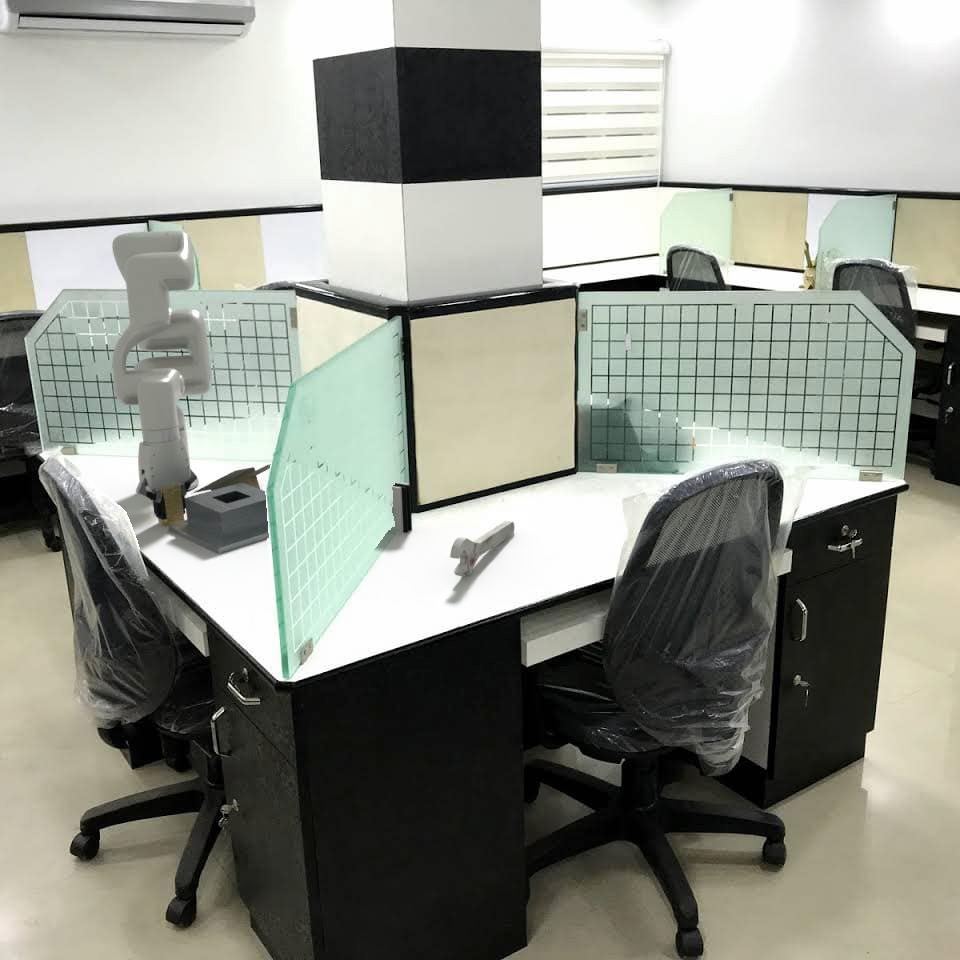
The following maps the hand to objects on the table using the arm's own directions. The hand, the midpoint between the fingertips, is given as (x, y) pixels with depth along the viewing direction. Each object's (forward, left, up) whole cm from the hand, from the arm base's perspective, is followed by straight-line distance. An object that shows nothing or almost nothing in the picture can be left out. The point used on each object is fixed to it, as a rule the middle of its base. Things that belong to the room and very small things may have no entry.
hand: (170, 514), depth 217 cm
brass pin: (0, 0, -2) cm, 2 cm away
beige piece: (-4, +20, -2) cm, 20 cm away
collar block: (+14, +7, -2) cm, 16 cm away
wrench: (+65, +31, -2) cm, 72 cm away
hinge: (+37, +28, -2) cm, 46 cm away
